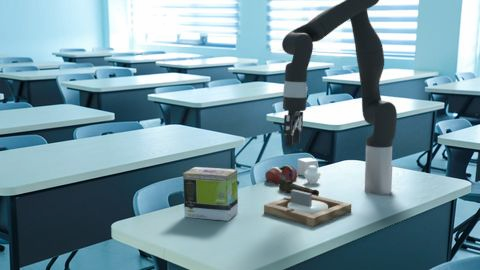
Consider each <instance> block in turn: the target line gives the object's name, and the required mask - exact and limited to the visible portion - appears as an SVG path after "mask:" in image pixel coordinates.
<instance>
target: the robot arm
mask: <svg viewBox="0 0 480 270" xmlns="http://www.w3.org/2000/svg"><path fill="white" fill-rule="evenodd" d="M379 2H380V0H343V1H342V2H340V3H338V4H335V5H333V6H332V7H329V8H327V9H324V11H321V12H320V13H319V14H317V15H316V16H314V17H313V18H312V19H311V20H309V21H308V22H307V23H305V24H303V25H301V26H299V27H297V28H294V29H293V30H291V31H290V32H288V33H287V34H286V35H285V36H284V38H283V40H282V42H281V43H282V45H281V47H282V50H283V51H284V52H285V53H286V54H288V55H291V56H293V57H292V59H291V62H289V63H287V64H286V65H285V69H284V83H283V95H282V97H283V98H282V109H283V110H284V111H288V112H287V114H284V116H283V118H284V119H283V131H282V133H283V134H284V135H285V147H287V148H292V147H293V144H299V143H300V141H301V131H302V130H303V127H304V126H303V125H304V111H306V110H307V97H308V96H307V92H308V85H307V81H308V80H307V77H308V67H309V64H310V62H311V57H312V55H313V51H314V50H313V49H314V44H313V43H315V42H319V41H321V40H323V39H324V38H326V37H327V36H328V35H329V34H330V33H332V32H333V31H335V30H336V29H337V28H338V27H340V26H341V25H343V24H344V23H346V22H348V20H350V23H351V28H352V35H353V40H354V46H355V55H356V62H357V67H358V74H359V83H360V87H361V89H360V90H361V91H360V92H361V109H362V111H361V112H362V117H363V119H364V121H365V122H366V123H367V124H369V125H372V126H373V133H372V134H371V135H368V136H367V137H366V139H365V170H364V171H365V172H364V192H365V193H367V194H370V195H377V196H380V195H382V196H383V195H389V194H390V193H392V192H391V191H392V189H393V187H392V186H393V185H392V184H393V183H392V181H393V165H392V164H393V162H392V161H393V143H394V140H395V136H396V131H397V130H396V129H397V118H398V117H397V116H398V112H397V109H396V108H397V107H396V106H395V104H393V103H392V102H391V101H386V100H382V98H381V91H380V81H381V78H382V75H383V71H384V69H385V68H384V67H385V56H384V48H383V43H382V41H381V39H380V37H379V35H378V34H377V32H376V30H375V29H374V27H373V25H372V24H371V22H370V19H369V18H370V17H369V14H368V13H369V12H368V10H369V9H370V8H372V7H375V6H376V5H377V4H378V3H379Z"/></svg>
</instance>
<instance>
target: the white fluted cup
mask: <svg viewBox="0 0 480 270" xmlns="http://www.w3.org/2000/svg"><path fill="white" fill-rule="evenodd" d="M304 174H305V176H304V177H305V179H306V182H307V184H311V185H315V184H317V183H318V181H319V179H320V178H321V175H322V174H321V172H320V171H319V168H318V169H317V167H316V166H314V165H311V166H309V167H308V169H307V171H305V173H304Z"/></svg>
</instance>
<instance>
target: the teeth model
mask: <svg viewBox="0 0 480 270" xmlns="http://www.w3.org/2000/svg"><path fill="white" fill-rule="evenodd" d="M281 179H287V180H289V181H292V182H297V180H298V173H297V169H295V167H294V166H289V165H283V166H281V167H280V168H279V167H276V166H273V167H271V168H270V169H269V170H267V171H265V181H266V182H270V183H274V184H276V185H279V182H280V180H281Z"/></svg>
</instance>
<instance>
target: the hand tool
mask: <svg viewBox="0 0 480 270" xmlns="http://www.w3.org/2000/svg"><path fill="white" fill-rule="evenodd" d="M293 182H294V181H292V180H288V179H281V180H280V182H279V184H278V189H279V190H280V191H281V192H284V193H285V194H286V193H287V194H289V193H290V194H291V190H298V191H302V192H306V193H311V194H312V195H316V196H319V194H320V191H319V190H317V189H312V188H309V187H307V186H306V187H305V186H302V185H298V184H296V183H293Z"/></svg>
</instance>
